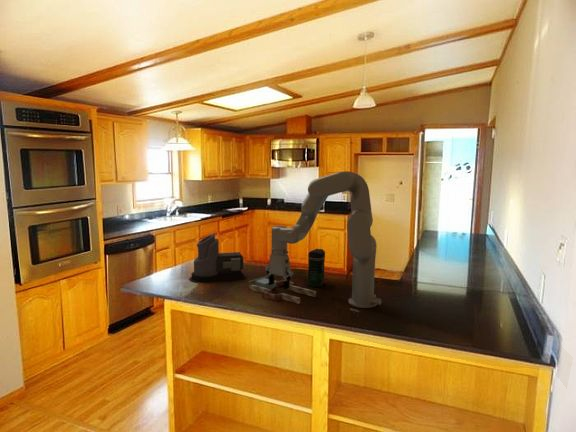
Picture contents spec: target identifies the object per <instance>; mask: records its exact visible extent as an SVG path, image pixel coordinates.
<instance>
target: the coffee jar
mask: <svg viewBox="0 0 576 432" xmlns="http://www.w3.org/2000/svg"><path fill="white" fill-rule="evenodd" d="M307 254H308V255H307V256H308V258H307V259H308V266H307V285H308V286H310V287H313V288H315V287H321V286H323V285H324V284H325V260H326V251H325V250H324V249H322V248H315V249H313V250H310V251H308V253H307Z"/></svg>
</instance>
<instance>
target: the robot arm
mask: <svg viewBox="0 0 576 432" xmlns="http://www.w3.org/2000/svg"><path fill="white" fill-rule="evenodd" d="M307 192H308V193H307V194H306V197H305V198H304V199H303V201H302V203H301V206H300V208H301V213H300V216H299V218H298V219H297V221H296V223H295V225H294V226H291V227H287V226H285V225H274V226H272V228H271V243H270V244H271V245H270V246H271V251H270V255H269V262H268V263H269V265H266V266H265V267H264V269H265V271H266V274H267V276H268V279H269V285H272V284H274V281H275V276H279V277H283V280H285V281H284V286H283V289H284V290H287V288H289V281H291V280H292V279H293V276H294V275H295V274H294V271H292V270H291V266H290V265H291V264H290V257H289V256H290V255H289V251H288V244H291V245H294V244H297V243H299V242H300V241H303V240H304V239H305V238H306V237H307V236H308V233H309V232H310V230H311V229H312V228H313V225H314V223H315V221H316V218H317V216H318V213H319V212H320V210H321V208H322V207H323V206H324V204H325V203H326V201H327V199H328V197H329V196H333V195H336V194H339V193H340V194H341V193H344V192H349V195H350V199H349V200H350V207H351V211H350V212H351V214H349V216H348V218H347V222H346V229H347V239H348V248H349V253H350V254H351V255H352V256H353V259H352V282H351V283H352V285H351V286H352V287H351V289H352V290H351V297H349V299H347V301H348V304H349V305H350V306H352V307H354V308H355V307H356V308H361V309H370V308H375V307H376V306H377V305H379V306H380V305H382V298H379V297H378V298H377V295H376V294H375V292H374V291H375V276H376V275H375V270H376V269H375V268H376V256H377V241H376V238H375V237H374V236H373V235H372V233H371V227H372V225H373V223H374V222H373V220H374V219H373V213H372V212H373V211H372V204H371V203H372V202H371V197H370V189H369V185H368V183H367V181H366V180H365V179H364V177H362V175H360V174H358V173H356V172H352V171H348V170H347V171H339V172H338V171H337V172H336V173H332V174H328V175H325V176H322V177H319V178H314V179H312V180H311V181H310V182H309V184H308V186H307Z"/></svg>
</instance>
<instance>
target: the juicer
mask: <svg viewBox="0 0 576 432" xmlns="http://www.w3.org/2000/svg"><path fill="white" fill-rule="evenodd" d="M215 237H216V233H212V234H209V235H207V236H205V237H203V238H202V239H201V240H199V241H198V242H197V244H196V247H197V257H196V258H195V259H194V260H193V272H191V276H190V277H189V278H188V280H189V282H191V283H193V284H194V283H195V284H196V283H197V284H199V283H201V284H202V283H204V284H206V283H215V282H219V281H220V280H221V281H232V280H231V279H235V280H243V279H242V278H246V276H245V275H244V272H242V271H243V269H244V256H243V254H242V253H241V252H239V251H238V252H237V251H236V252H219V250H220V249H219V243H220V242H219V238H215Z"/></svg>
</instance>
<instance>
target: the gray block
mask: <svg viewBox="0 0 576 432" xmlns="http://www.w3.org/2000/svg"><path fill="white" fill-rule="evenodd" d="M275 281H276V280H274V284H272V285H269V278H268V279H266V278H263V279H260V280H257V281H255V285H256V286H260V287H263V288H267V289H270V290H274V289H275V288H276V287H275Z"/></svg>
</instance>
